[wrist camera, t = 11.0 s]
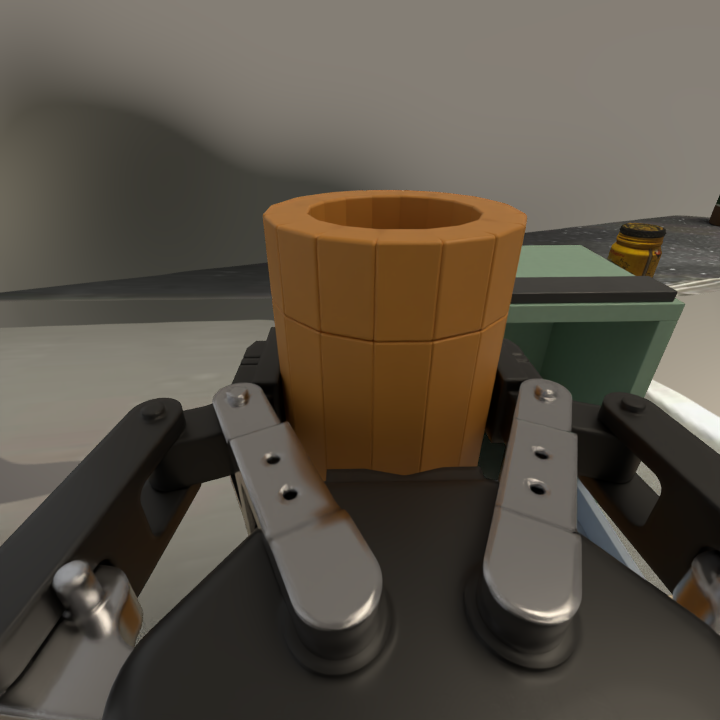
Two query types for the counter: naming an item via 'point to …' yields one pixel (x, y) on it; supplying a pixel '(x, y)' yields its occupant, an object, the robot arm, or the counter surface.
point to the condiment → (638, 248)
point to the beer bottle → (716, 214)
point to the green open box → (589, 321)
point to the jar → (390, 323)
